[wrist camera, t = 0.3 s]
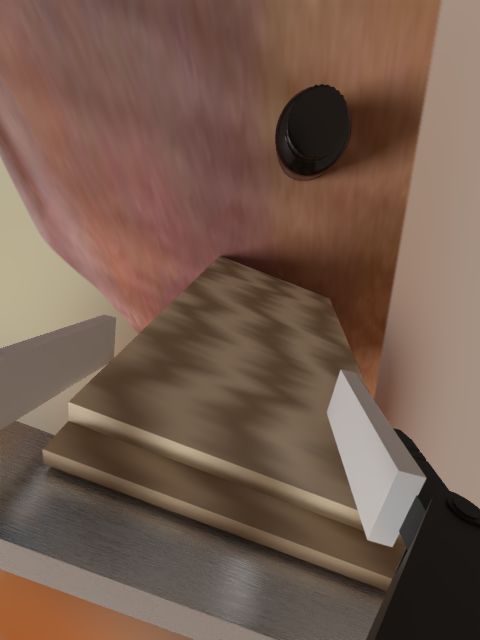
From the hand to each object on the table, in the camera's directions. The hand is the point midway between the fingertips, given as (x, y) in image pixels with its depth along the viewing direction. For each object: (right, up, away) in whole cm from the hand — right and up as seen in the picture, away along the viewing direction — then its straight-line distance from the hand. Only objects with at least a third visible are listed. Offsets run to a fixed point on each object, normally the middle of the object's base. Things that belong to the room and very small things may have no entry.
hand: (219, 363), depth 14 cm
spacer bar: (-6, -6, 0) cm, 9 cm away
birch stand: (+5, +5, +26) cm, 27 cm away
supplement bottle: (+9, +23, +16) cm, 30 cm away
